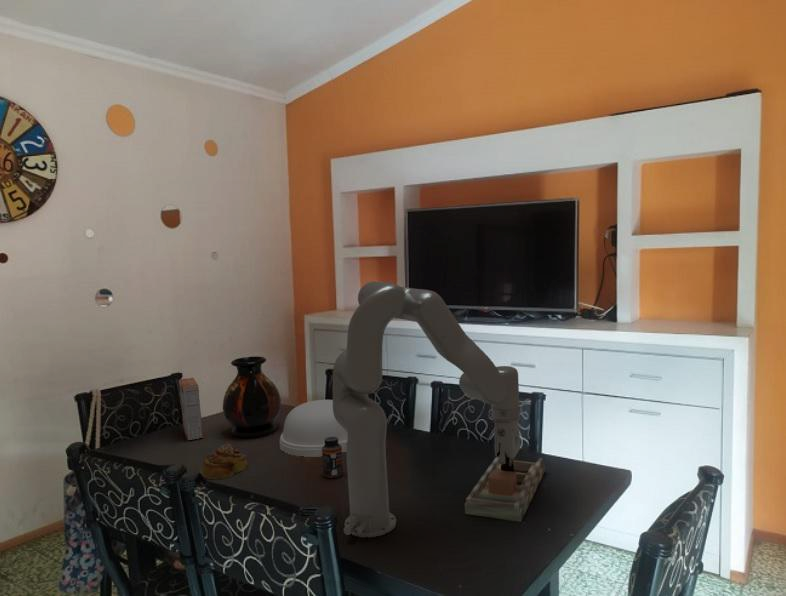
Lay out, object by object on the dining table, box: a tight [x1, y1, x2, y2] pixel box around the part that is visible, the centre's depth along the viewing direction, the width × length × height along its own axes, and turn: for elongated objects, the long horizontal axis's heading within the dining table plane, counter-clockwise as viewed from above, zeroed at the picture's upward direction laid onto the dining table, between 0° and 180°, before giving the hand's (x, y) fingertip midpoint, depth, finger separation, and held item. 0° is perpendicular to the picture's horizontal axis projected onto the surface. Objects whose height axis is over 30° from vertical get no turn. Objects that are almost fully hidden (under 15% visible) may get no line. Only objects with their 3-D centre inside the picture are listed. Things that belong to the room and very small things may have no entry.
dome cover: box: [279, 399, 348, 458], centre depth 207 cm, size 32×30×14 cm
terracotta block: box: [488, 470, 518, 496], centre depth 154 cm, size 6×6×4 cm
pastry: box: [198, 443, 249, 480], centre depth 185 cm, size 13×15×8 cm
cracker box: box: [178, 377, 204, 441], centre depth 222 cm, size 14×6×21 cm, turn 25°
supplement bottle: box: [321, 437, 344, 479], centre depth 176 cm, size 6×6×11 cm
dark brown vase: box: [222, 355, 282, 439], centre depth 222 cm, size 22×22×28 cm
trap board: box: [464, 456, 546, 523], centre depth 159 cm, size 32×14×4 cm, turn 156°
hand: (507, 478), depth 159 cm, fingers closed
